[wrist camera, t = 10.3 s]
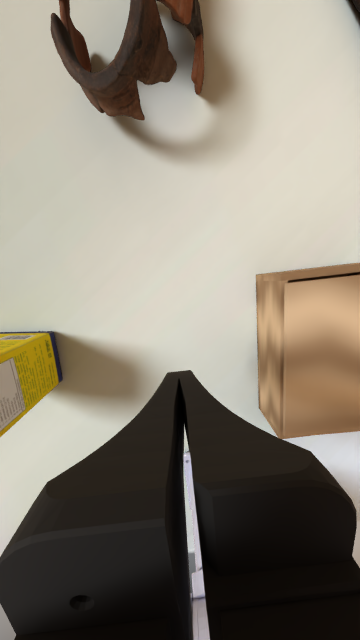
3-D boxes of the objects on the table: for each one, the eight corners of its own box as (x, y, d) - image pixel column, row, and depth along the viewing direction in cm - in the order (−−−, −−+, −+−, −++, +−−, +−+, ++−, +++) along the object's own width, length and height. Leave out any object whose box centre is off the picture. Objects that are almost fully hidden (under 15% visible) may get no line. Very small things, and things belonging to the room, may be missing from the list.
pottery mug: (209, 139, 17) (166, 83, 10) (127, 154, 20) (55, 121, 14) (223, -125, 11) (146, -628, 5) (107, -40, 15) (-31, -253, 8)
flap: (378, 425, 17) (382, 428, 17) (282, 434, 18) (285, 437, 17) (401, 269, 14) (407, 269, 14) (284, 283, 15) (287, 283, 14)
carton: (339, 398, 23) (379, 427, 18) (258, 408, 22) (279, 439, 18) (351, 263, 19) (404, 258, 15) (255, 274, 19) (280, 273, 15)
